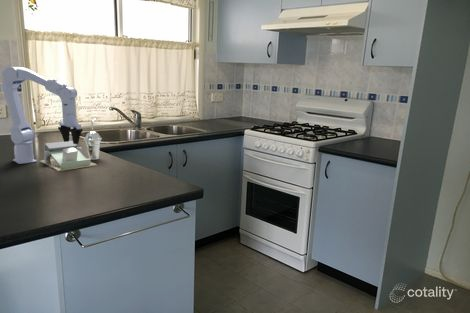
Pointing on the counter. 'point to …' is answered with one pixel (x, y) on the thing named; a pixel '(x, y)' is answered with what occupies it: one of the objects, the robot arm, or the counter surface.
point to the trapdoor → (57, 154)
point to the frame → (54, 164)
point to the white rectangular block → (69, 154)
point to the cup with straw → (93, 143)
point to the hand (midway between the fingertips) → (71, 142)
